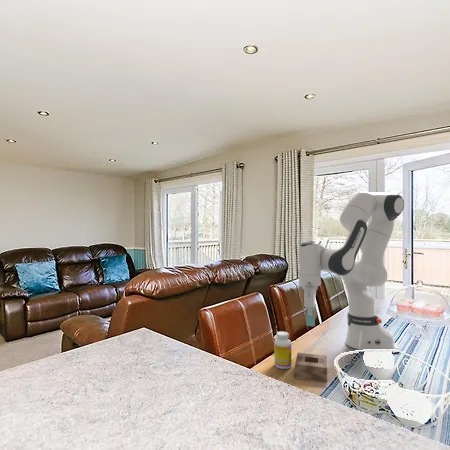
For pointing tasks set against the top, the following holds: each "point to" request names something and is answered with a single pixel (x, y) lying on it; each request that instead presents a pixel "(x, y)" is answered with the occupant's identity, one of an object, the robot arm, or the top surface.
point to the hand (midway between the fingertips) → (310, 313)
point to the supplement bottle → (282, 351)
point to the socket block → (311, 367)
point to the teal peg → (310, 318)
